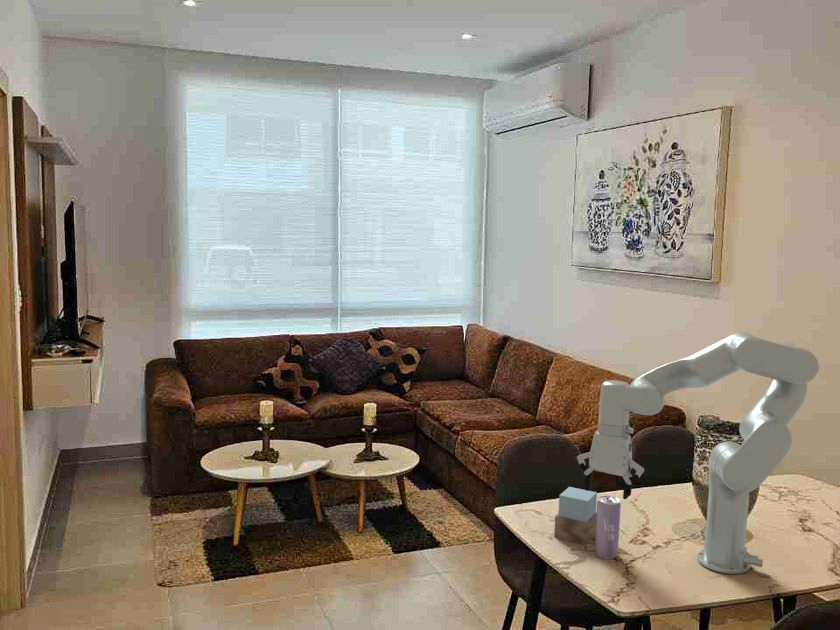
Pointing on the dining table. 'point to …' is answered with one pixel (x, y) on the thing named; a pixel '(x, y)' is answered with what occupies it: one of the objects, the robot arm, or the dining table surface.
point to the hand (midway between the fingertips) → (607, 493)
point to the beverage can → (607, 527)
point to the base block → (575, 529)
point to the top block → (577, 504)
